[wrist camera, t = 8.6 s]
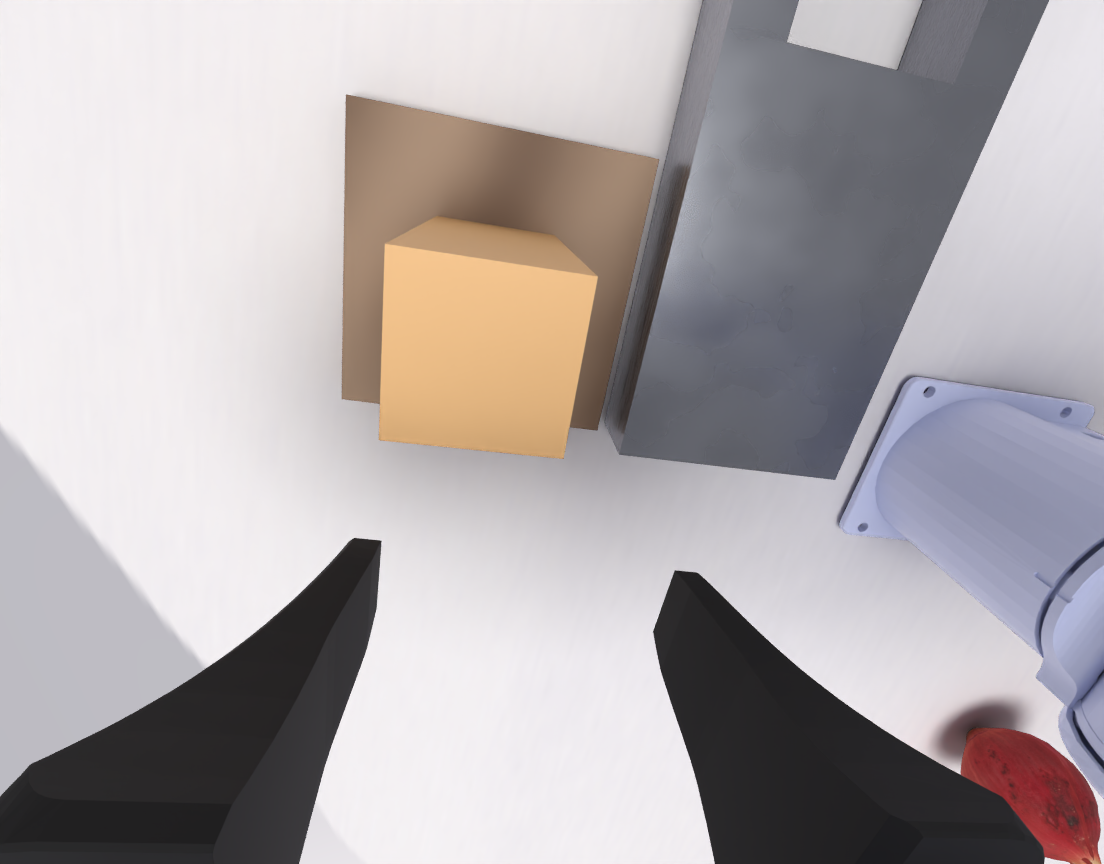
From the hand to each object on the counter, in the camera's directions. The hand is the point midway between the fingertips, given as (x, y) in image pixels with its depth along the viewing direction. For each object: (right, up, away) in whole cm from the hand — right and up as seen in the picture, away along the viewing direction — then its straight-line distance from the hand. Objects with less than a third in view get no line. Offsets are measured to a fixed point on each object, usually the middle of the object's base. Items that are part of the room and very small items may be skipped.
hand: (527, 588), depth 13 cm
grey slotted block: (+9, +14, +6) cm, 17 cm away
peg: (-2, +9, +6) cm, 11 cm away
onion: (+28, -15, +22) cm, 38 cm away
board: (-2, +9, +7) cm, 12 cm away
